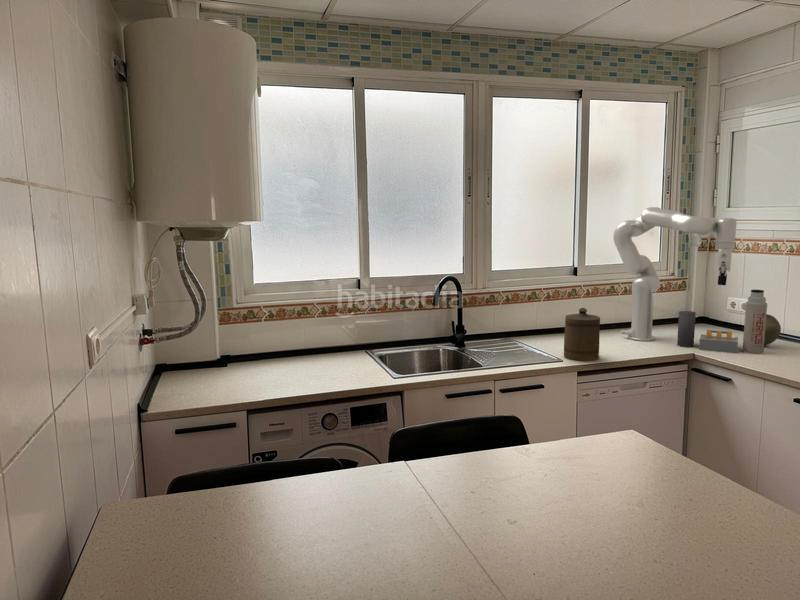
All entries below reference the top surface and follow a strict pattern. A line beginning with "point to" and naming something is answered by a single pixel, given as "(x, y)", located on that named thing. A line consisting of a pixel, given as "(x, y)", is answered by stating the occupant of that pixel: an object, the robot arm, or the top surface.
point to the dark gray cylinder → (686, 328)
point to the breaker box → (718, 343)
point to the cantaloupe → (771, 329)
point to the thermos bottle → (755, 323)
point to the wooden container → (581, 336)
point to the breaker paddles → (719, 333)
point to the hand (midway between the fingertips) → (722, 283)
